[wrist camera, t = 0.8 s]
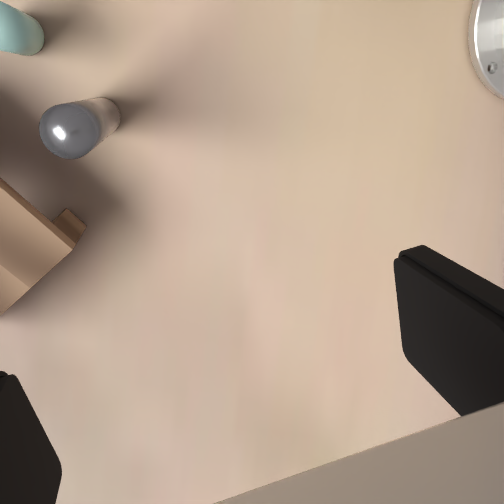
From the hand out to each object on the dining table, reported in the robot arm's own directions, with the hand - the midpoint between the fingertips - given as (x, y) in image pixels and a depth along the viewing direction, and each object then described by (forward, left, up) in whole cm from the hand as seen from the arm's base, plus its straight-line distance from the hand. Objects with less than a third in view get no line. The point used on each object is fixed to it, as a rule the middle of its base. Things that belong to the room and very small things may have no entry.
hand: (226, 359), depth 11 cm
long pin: (+2, -7, -27) cm, 27 cm away
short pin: (+2, -14, -27) cm, 30 cm away
